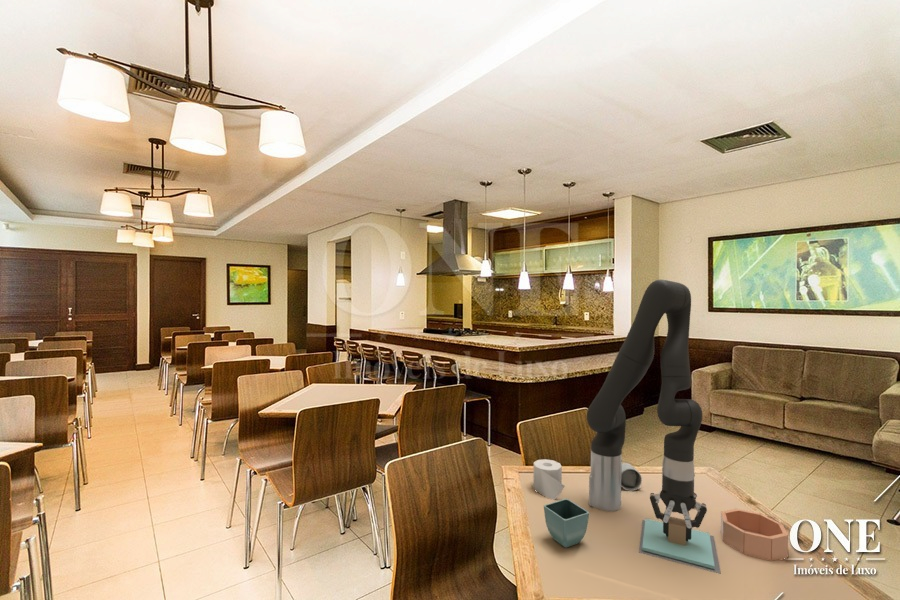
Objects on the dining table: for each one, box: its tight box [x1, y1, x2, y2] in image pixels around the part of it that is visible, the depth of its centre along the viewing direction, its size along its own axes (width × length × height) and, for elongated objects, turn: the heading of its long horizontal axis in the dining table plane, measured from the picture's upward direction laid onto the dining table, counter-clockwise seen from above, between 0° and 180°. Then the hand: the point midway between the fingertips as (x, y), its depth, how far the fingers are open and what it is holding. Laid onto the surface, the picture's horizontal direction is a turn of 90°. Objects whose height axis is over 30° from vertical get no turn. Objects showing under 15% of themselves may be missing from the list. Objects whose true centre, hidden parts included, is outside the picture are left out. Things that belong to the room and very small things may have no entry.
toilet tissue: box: [532, 458, 566, 501], centre depth 144 cm, size 9×13×9 cm
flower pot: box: [543, 498, 590, 549], centre depth 115 cm, size 9×9×9 cm
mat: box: [638, 519, 722, 575], centre depth 114 cm, size 18×18×1 cm
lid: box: [642, 515, 715, 569], centre depth 114 cm, size 16×16×6 cm
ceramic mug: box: [621, 462, 643, 492], centre depth 149 cm, size 11×8×8 cm
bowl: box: [720, 508, 789, 562], centre depth 114 cm, size 14×14×6 cm
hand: (676, 537), depth 114 cm, fingers closed on lid, 4 cm apart
